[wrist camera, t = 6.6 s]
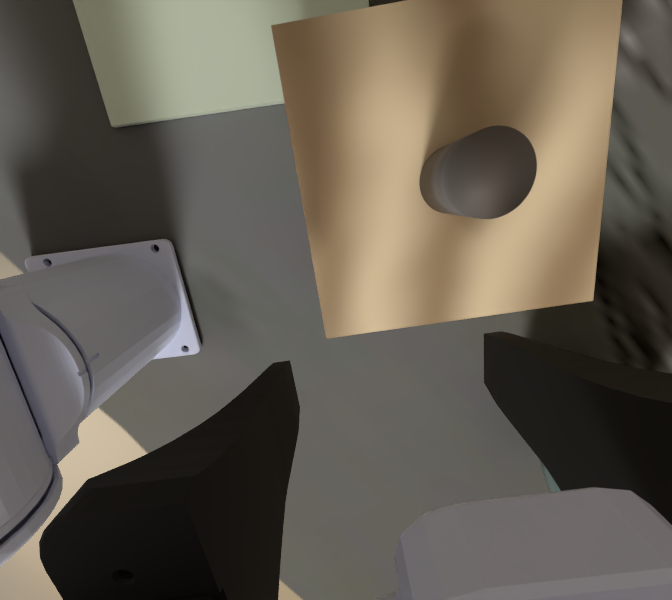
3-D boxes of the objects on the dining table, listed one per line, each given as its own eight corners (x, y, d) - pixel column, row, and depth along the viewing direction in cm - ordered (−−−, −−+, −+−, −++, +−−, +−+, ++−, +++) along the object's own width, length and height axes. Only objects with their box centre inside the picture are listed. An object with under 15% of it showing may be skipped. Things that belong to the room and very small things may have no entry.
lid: (326, 332, 18) (324, 378, 13) (274, 34, 14) (244, -46, 9) (581, 296, 17) (670, 331, 13) (609, -27, 13) (755, -145, 9)
